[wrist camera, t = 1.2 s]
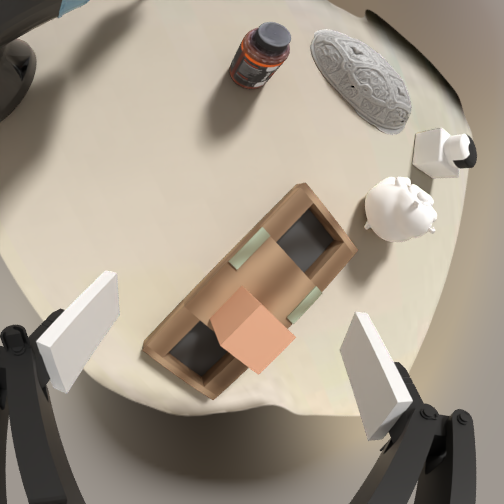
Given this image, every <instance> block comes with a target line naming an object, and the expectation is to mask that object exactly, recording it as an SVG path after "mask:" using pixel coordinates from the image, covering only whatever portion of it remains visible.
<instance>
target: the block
mask: <svg viewBox="0 0 504 504" xmlns="http://www.w3.org/2000/svg"><path fill="white" fill-rule="evenodd" d="M210 321H211V323H212V326H213V328H214V331H215V334H216V336H217V339H218V341H219V344H220V346H222V347H223V348H224V349H225V350H227V351H228V352H229V353H230V354H232V355H233V356H234V357H236V358H237V359H238V360H240V361H241V362H242V363H244V364H245V365H246V366H248V367H249V368H250V369H252V370H253V371H254V372H256V373H257V374H258V375H259V374H260V373H261V372H262V371H263V370H264V369H265V368H266V367H267V366H268V365H269V364H270V363H271V362H272V361H273V360H274V359H275V358H276V357H277V356H278V355H279V354H280V353H281V352H282V351H283V350H284V349H285V348H286V347H287V346H288V345H289V344H290V343H291V342H292V341H293V340H294V339H295V338H296V337H295V336H294V335H293V334H292V333H291V332H290V331H289V330H288V329H287V328H286V327H285V326H284V325H283V324H282V323H281V322H280V321H279V320H278V319H277V318H276V317H275V316H274V315H273V314H272V313H271V312H270V311H269V310H267V309H266V308H265V307H264V306H263V305H262V304H261V303H260V302H259V301H258V300H257V299H256V298H255V297H254V296H253V295H252V294H251V293H249V292H248V291H247V290H246V289H245V288H244V287H243V286H241V287H240V288H239V289H238V290H237V291H236V292H235V293H234V294H233V295H232V296H231V297H230V298H229V299H228V300H227V301H226V302H225V303H224V304H223V305H222V306H221V307H220V308H219V309H218V310H217V311H216V312H215V313H214V315H213V316H212V317H211V318H210Z"/></svg>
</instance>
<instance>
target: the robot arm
mask: <svg viewBox="0 0 504 504" xmlns="http://www.w3.org/2000/svg"><path fill="white" fill-rule="evenodd" d="M88 1H89V0H0V121H2V120H3V119H4V118H6V117H7V116H8V115H9V114H10V113H11V112H12V111H13V110H14V109H15V108H16V106H17V105H18V104H19V103H20V101H21V100H22V99H23V97H24V96H25V94H26V92H27V90H28V89H29V87H30V85H31V82H32V80H33V77H34V74H35V70H36V55H35V53H34V51H33V50H32V48H31V47H30V46H29V45H28V44H27V43H26V42H25V41H22V40H19V39H17V38H18V37H20V36H22V35H24V34H25V33H27V32H29V31H31V30H33V29H34V28H36V27H38V26H40V25H42V24H44V23H46V22H48V21H50V20H52V19H54V18H56V17H58V18H60V17H62V15H63V14H65V13H67V12H70V11H72V10H74V9H76V8H78V7H81V6H83V5H85V4H86V3H87V2H88ZM119 315H120V309H119V296H118V279H117V273H115V272H110V271H106V270H105V271H104V272H103V273H102V274H101V275H100V276H99V277H98V278H97V279H96V280H95V281H94V282H93V283H92V284H91V285H90V286H89V287H88V288H87V289H86V290H85V291H84V292H83V293H82V294H81V295H80V296H79V297H78V298H77V299H76V300H75V301H74V302H73V303H72V304H71V305H70V306H69V307H68V308H67V309H66V310H63V309H59V310H57V311H55V312H53V313H52V314H51V315H50V316H49V317H48V318H47V319H46V320H45V321H44V322H43V323H42V325H40V326H39V327H38V328H37V329H36V330H35V331H34V332H33V333H32V334H31V335H30V336H29V337H28V336H27V333H26V330H25V328H24V327H23V326H20V325H11V326H8V327H6V328H5V329H4V330H3V331H2V332H1V335H0V338H1V340H2V343H3V346H4V347H3V346H0V504H7V498H6V474H5V466H6V465H5V463H6V440H7V428H8V418H9V417H10V425H11V431H12V437H13V443H14V448H15V453H16V458H17V462H18V466H19V471H20V474H21V478H22V482H23V485H24V489H25V492H26V495H27V498H28V502H29V504H86V503H85V501H84V499H83V497H82V495H81V493H80V490H79V488H78V486H77V483H76V481H75V478H74V476H73V473H72V471H71V468H70V465H69V463H68V460H67V457H66V454H65V451H64V448H63V445H62V442H61V439H60V436H59V432H58V428H57V425H56V421H55V417H54V413H53V409H52V405H51V401H50V396H49V391H48V388H47V386H46V384H47V383H48V381H49V380H50V381H51V383H52V385H53V387H54V388H55V389H57V390H59V391H62V392H64V393H66V394H67V393H68V391H69V390H70V388H71V386H72V384H73V383H74V382H75V380H76V378H77V377H78V375H79V374H80V372H81V371H82V369H83V368H84V366H85V365H86V363H87V362H88V360H89V359H90V357H91V356H92V354H93V353H94V351H95V350H96V348H97V347H98V345H99V344H100V342H101V341H102V339H103V338H104V336H105V335H106V334H107V332H108V331H109V329H110V328H111V326H112V325H113V324H114V322H115V321H116V319H117V318H118V317H119ZM340 352H341V355H342V358H343V361H344V364H345V367H346V371H347V374H348V377H349V380H350V383H351V386H352V389H353V392H354V396H355V399H356V402H357V405H358V408H359V412H360V415H361V418H362V422H363V425H364V429H365V432H366V436H367V439H368V441H369V440H380V439H383V438H384V437H385V436H386V434H387V433H388V432H389V434H390V436H391V438H390V440H389V441H388V442H387V443H386V444H385V445H384V446H383V447H382V448H381V449H380V451H382V450H383V451H382V453H381V455H380V456H379V458H378V460H377V462H376V463H375V465H374V467H373V469H372V470H371V472H370V473H369V475H368V477H367V478H366V480H365V481H364V483H363V485H362V486H361V487H360V489H359V490H358V492H357V493H356V495H355V496H354V498H353V499H352V501H351V502H350V504H407V502H408V500H409V498H410V496H411V494H412V492H413V490H414V487H415V485H416V483H417V481H418V484H417V490H416V496H415V501H414V504H475V501H476V452H475V438H474V426H473V420H472V417H471V416H470V414H469V413H468V412H466V411H464V410H461V409H458V410H455V411H454V412H453V413H452V415H451V416H445V415H439V414H438V412H437V410H436V409H435V408H433V407H432V406H431V405H428V404H424V403H423V401H422V399H421V397H420V395H419V393H418V392H417V389H416V387H415V385H414V384H413V382H412V380H411V378H410V376H409V374H408V372H407V370H406V369H405V368H404V367H403V366H402V365H401V364H400V363H399V362H393V360H392V358H391V356H390V354H389V352H388V350H387V348H386V346H385V345H384V343H383V341H382V339H381V337H380V335H379V333H378V332H377V330H376V328H375V326H374V324H373V323H372V321H371V319H370V317H369V315H368V314H367V313H362V312H355V314H354V316H353V319H352V321H351V324H350V326H349V329H348V331H347V334H346V336H345V338H344V341H343V343H342V345H341V348H340Z"/></svg>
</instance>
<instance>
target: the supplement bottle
mask: <svg viewBox="0 0 504 504" xmlns="http://www.w3.org/2000/svg"><path fill="white" fill-rule="evenodd" d="M290 41H291V35H290V33H289V31H288V30H287V29H286V28H285V27H284V26H283V25H281V24H278V23H275V22H266V23H263V24H262V25H260V27H259V28H255V29H253V30H251V31H249V32H248V33H247V34H246V35H245V37H244V38H243V40H242V42H241V44H240V46H239V48H238V50H237V52H236V54H235V56H234V59H233V60H232V63H231V65H230V75H231V77H232V79H233V81H234V82H235V83H237V84H238V85H240V86H242V87H244V88H248V89H255V88H259V87H261V86H263V85H264V84H265V83H266V82H267V81H268V80H269V79H270V78H271V76H272V75H273V74H274V73H275V72H276V70H277V69H278V68H279V67H280V66H281V65H282V64H283V62H284V61H285V60H286V59H287V57H288V55H289V53H290V46H289V43H290Z"/></svg>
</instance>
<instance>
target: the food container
mask: <svg viewBox="0 0 504 504" xmlns="http://www.w3.org/2000/svg"><path fill="white" fill-rule="evenodd" d="M310 49H311V53H312V57H313V59H314V61H315V63H316V65H317V67H318V68H319V70H320V71H321V73H322V74H323V75H324V77H325V78H326V79H327V80H328V81H329V83H330V84H331V85H332V86H333V87H334V88H335V89H336V90H337V91H338V92H339V93H340V94H341V95H342V97H344V99H346V100H347V102H348V103H349V104H350V105H351V106H352V107H353V108H354V109H355V111H356V112H357V114H358V115H359V116H360V117H362V118H364V119H365V120H366V121H368V122H369V123H370V124H373V125H375V126H376V127H377V128H378V129H379V130H380V131H382V132H384V133H386V134H391V135H393V134H398V133H400V132H401V131H402V130H403V129H404V127H405V125H406V122H407V120H408V118H409V116H410V113H411V108H412V106H411V101H410V97H409V93H408V91H407V88H406V86H405V83H404V81H403V80H402V78H401V77H400V75H399V74H398V73H397V72H396V71H395V70H394V69H393V67H392V66H391V65H390V64H389V63H388V61H387V60H386V59H385V58H384V57H383V56H382V55H380V54H379V53H377V52H376V51H375V50H373V49H372V48H371V47H370V46H368V45H367V44H365V43H364V42H362V41H360V40H359V39H354V38H351V37H349V36H347V35H345V34H343V33H340V32H338V31H334V30H329V29H327V30H326V29H325V30H318V31H316V32H315V36H314V39H313V41H312V43H311V46H310ZM351 86H354V87H355V88H352V87H351ZM365 89H366V90H367V91H366V90H365ZM398 111H400V112H401V113H400V112H398ZM399 114H400V115H399ZM406 114H407V115H406ZM403 118H404V119H403ZM394 121H395V123H394ZM401 121H404V122H401Z"/></svg>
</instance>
